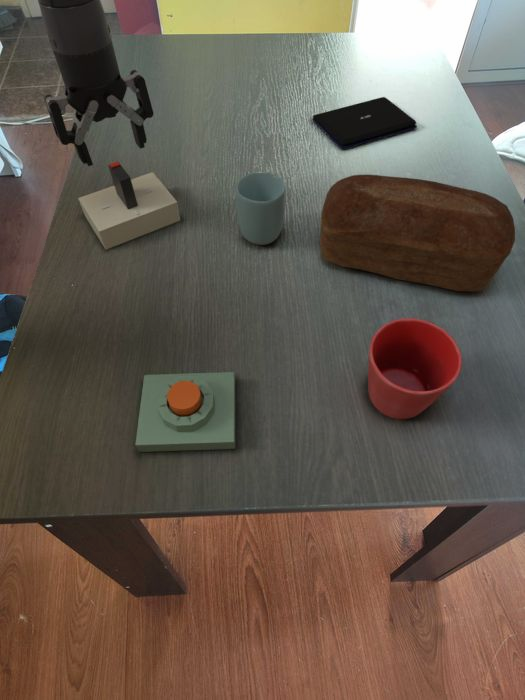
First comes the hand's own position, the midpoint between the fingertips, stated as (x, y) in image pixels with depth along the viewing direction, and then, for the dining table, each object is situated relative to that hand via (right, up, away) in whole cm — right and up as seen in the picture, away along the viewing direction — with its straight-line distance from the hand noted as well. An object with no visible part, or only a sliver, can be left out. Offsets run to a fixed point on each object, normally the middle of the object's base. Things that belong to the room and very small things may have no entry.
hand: (114, 154), depth 72 cm
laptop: (+45, +18, +28) cm, 55 cm away
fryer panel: (0, -7, +10) cm, 13 cm away
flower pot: (+41, -37, -10) cm, 56 cm away
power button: (+13, -37, -15) cm, 42 cm away
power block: (+13, -39, -12) cm, 43 cm away
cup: (+23, -11, +8) cm, 26 cm away
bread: (+46, -15, +5) cm, 49 cm away
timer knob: (0, -5, +7) cm, 8 cm away
